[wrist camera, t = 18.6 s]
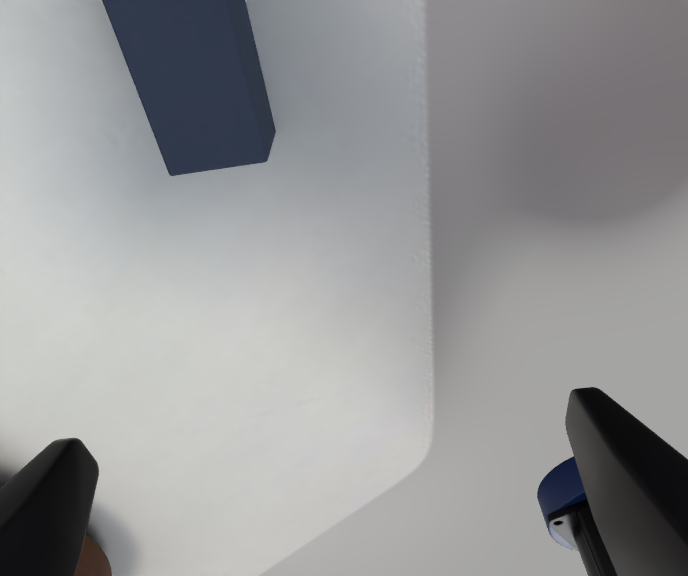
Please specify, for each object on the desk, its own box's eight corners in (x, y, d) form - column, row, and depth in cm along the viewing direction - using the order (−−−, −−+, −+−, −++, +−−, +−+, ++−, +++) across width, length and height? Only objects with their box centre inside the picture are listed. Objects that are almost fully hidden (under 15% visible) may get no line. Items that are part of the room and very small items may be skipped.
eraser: (276, 132, 16) (268, 163, 14) (189, 145, 17) (169, 177, 15) (223, -93, 13) (203, -95, 11) (113, -72, 13) (73, -70, 11)
